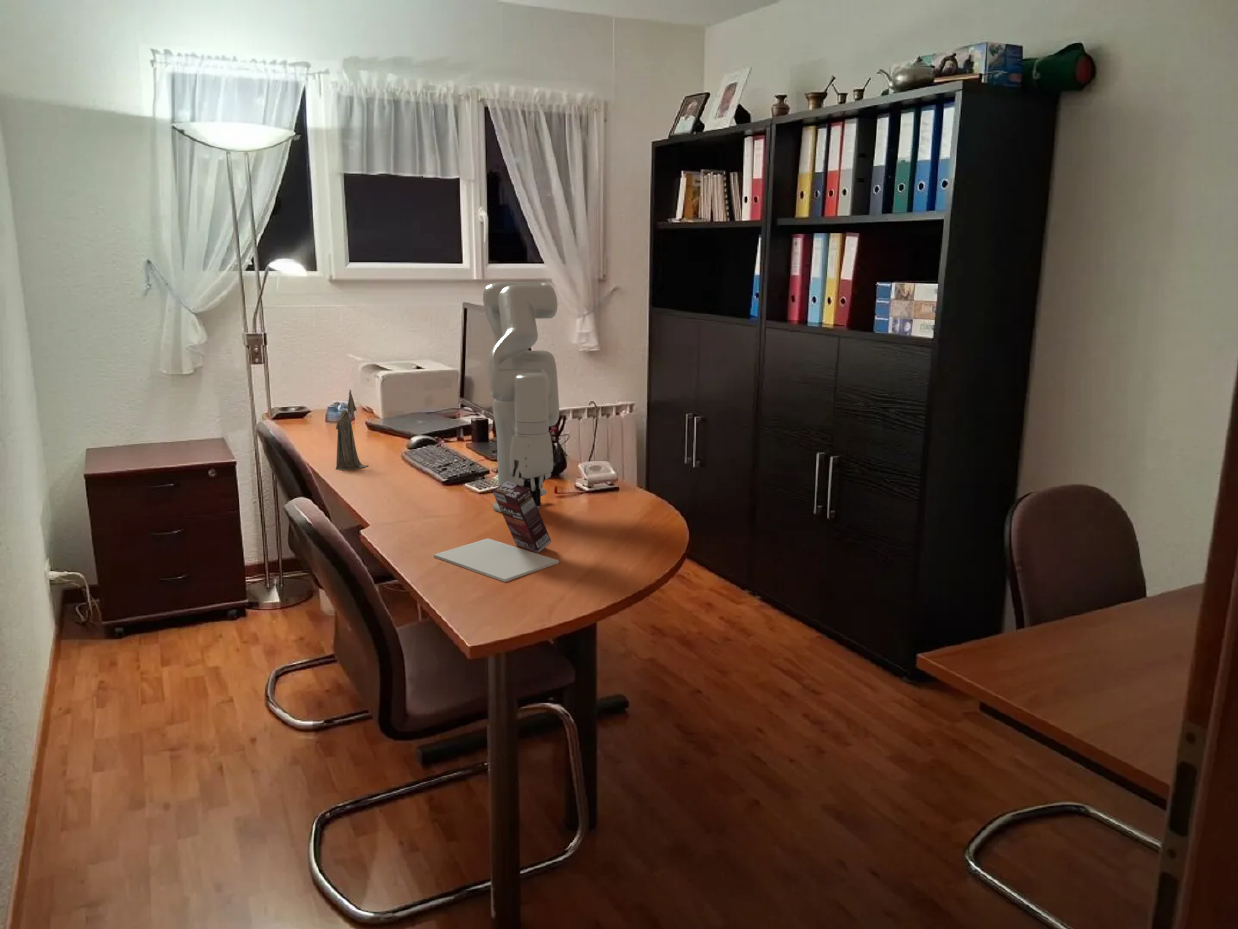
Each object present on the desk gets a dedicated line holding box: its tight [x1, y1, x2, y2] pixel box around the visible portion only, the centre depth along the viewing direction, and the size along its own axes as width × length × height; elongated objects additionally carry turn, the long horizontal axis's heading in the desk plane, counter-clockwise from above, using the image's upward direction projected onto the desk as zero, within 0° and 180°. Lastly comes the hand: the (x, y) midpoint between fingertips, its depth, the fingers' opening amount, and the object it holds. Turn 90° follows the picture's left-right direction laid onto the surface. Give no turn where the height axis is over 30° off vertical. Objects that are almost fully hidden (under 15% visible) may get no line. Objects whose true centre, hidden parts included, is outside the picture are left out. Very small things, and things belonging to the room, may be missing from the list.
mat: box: [433, 537, 560, 583], centre depth 202 cm, size 16×24×1 cm, turn 49°
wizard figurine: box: [335, 389, 369, 471], centre depth 286 cm, size 10×8×25 cm
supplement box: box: [492, 481, 552, 554], centre depth 206 cm, size 9×5×16 cm, turn 45°
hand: (533, 505), depth 208 cm, fingers closed
